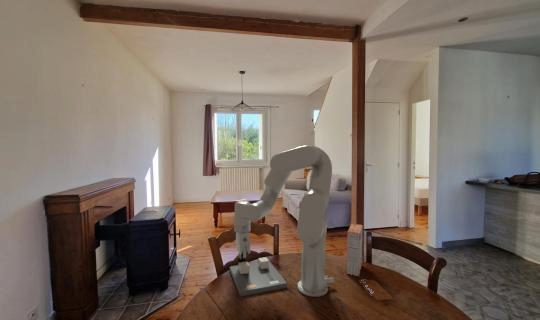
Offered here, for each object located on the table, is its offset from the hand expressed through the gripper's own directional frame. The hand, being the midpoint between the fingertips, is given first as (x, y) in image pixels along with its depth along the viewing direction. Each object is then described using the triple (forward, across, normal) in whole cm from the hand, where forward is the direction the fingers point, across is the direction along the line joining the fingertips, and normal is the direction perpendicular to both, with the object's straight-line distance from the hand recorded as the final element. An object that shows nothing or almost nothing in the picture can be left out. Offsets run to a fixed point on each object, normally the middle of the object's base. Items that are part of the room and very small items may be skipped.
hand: (241, 266), depth 115 cm
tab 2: (+1, -2, -10) cm, 10 cm away
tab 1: (+1, -4, 0) cm, 4 cm away
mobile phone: (+4, -31, -50) cm, 59 cm away
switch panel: (+3, -8, -5) cm, 10 cm away
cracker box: (+3, -14, -53) cm, 55 cm away
